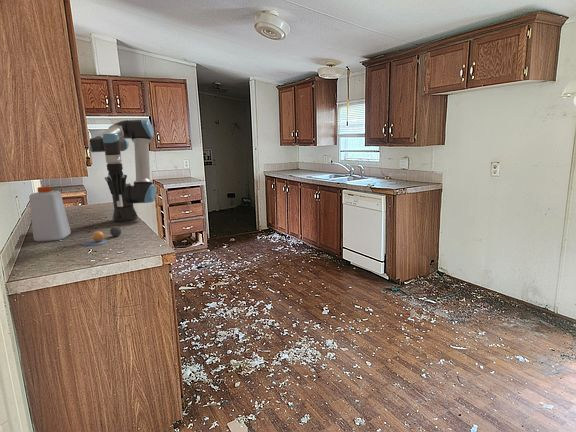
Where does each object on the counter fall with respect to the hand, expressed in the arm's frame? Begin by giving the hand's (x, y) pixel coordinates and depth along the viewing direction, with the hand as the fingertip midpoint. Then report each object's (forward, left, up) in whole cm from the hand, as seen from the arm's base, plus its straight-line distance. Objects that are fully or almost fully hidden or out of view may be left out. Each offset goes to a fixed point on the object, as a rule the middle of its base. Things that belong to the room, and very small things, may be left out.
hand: (120, 206), depth 197 cm
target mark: (+9, -16, -15) cm, 24 cm away
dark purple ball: (+3, -5, -13) cm, 14 cm away
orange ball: (+8, -14, -13) cm, 21 cm away
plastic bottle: (-19, -32, -16) cm, 40 cm away
